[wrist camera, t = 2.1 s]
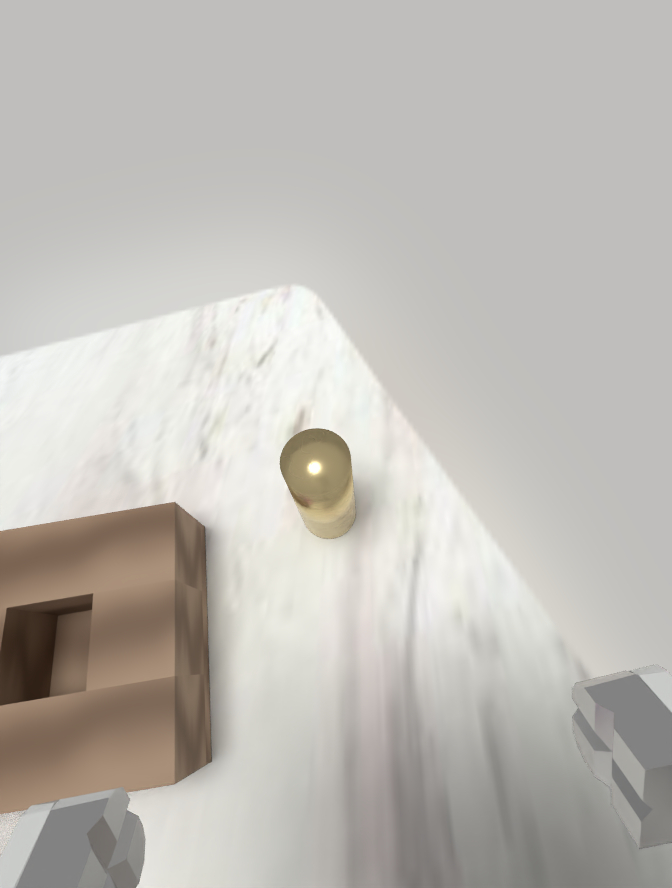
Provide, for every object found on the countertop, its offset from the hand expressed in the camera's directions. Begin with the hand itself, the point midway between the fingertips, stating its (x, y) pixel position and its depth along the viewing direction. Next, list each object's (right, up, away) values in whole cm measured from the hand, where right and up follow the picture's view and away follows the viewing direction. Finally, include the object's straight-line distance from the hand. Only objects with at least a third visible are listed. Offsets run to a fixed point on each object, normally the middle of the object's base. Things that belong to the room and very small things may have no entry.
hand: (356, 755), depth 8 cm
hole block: (-17, -9, +23) cm, 30 cm away
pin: (-1, 0, +27) cm, 27 cm away
